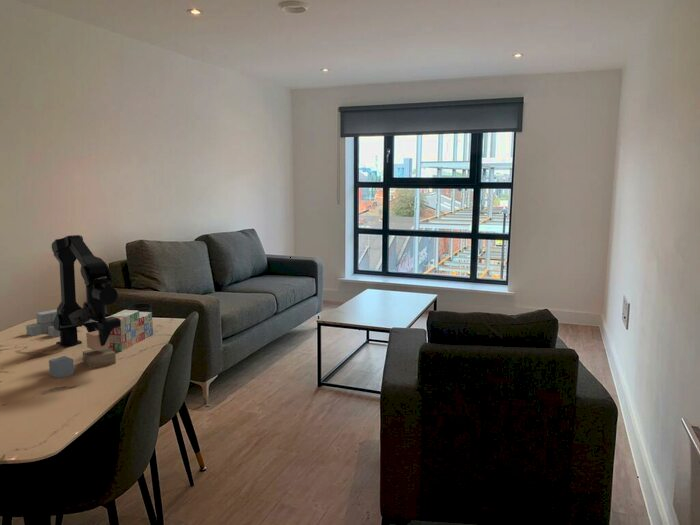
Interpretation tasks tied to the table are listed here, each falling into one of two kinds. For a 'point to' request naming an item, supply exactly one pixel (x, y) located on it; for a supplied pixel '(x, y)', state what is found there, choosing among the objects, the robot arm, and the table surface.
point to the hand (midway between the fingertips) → (98, 343)
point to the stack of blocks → (130, 329)
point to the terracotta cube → (95, 341)
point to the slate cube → (61, 367)
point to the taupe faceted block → (99, 357)
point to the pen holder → (140, 307)
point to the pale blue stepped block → (43, 324)
